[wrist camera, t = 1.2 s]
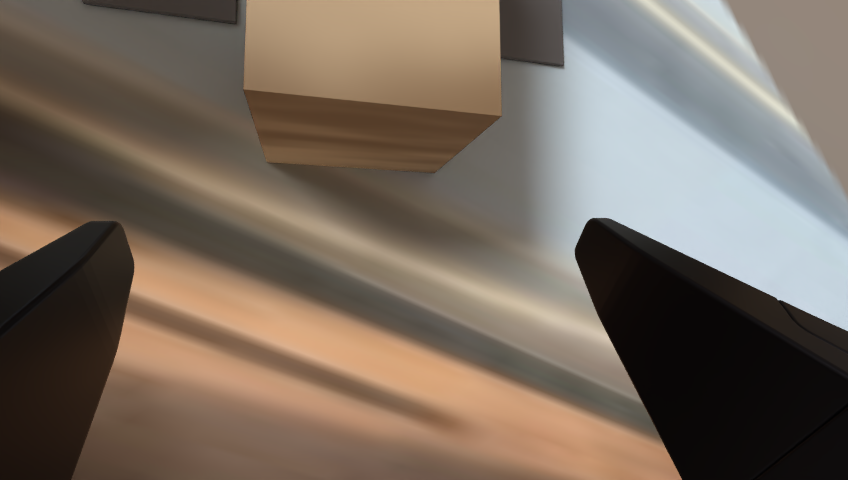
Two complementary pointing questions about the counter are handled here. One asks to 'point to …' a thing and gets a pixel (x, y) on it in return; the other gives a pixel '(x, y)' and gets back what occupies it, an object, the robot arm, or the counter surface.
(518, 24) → the plate
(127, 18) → the counter surface
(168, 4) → the trap mat left
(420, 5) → the oak block
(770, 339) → the robot arm
